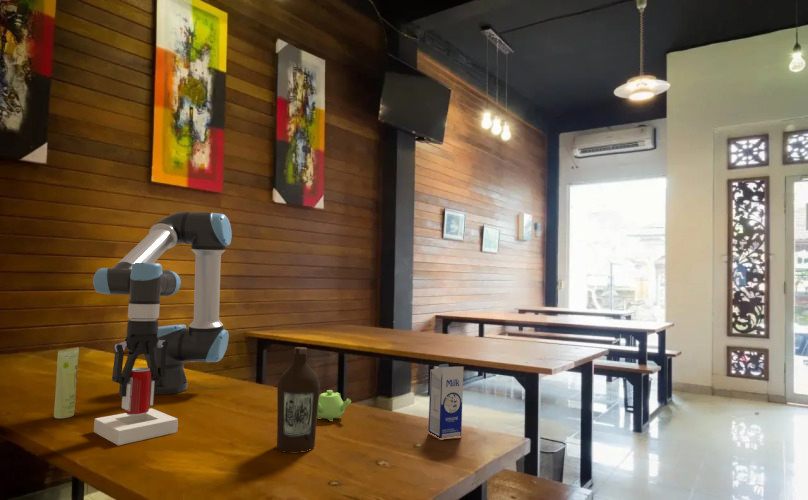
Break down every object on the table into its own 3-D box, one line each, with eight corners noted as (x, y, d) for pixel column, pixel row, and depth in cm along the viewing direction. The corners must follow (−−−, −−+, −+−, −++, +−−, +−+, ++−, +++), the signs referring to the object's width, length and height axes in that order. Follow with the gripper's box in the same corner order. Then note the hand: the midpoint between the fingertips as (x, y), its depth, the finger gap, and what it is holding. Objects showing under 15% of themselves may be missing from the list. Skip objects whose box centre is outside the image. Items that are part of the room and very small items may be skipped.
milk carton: (440, 441, 137) (442, 366, 138) (427, 433, 143) (430, 362, 144) (461, 438, 140) (464, 365, 141) (448, 431, 146) (451, 361, 147)
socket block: (151, 420, 145) (151, 408, 145) (177, 432, 136) (178, 419, 136) (93, 431, 133) (94, 418, 134) (118, 445, 124) (119, 431, 124)
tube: (74, 418, 145) (79, 349, 146) (52, 420, 142) (58, 350, 143) (74, 413, 149) (79, 347, 150) (53, 415, 147) (58, 347, 148)
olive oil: (274, 441, 132) (279, 344, 133) (315, 439, 134) (320, 345, 135) (273, 455, 121) (279, 351, 123) (318, 453, 124) (323, 351, 125)
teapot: (342, 412, 162) (343, 385, 162) (351, 422, 151) (352, 394, 151) (307, 414, 158) (308, 387, 158) (313, 425, 147) (315, 395, 148)
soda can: (153, 412, 136) (156, 367, 137) (136, 417, 131) (139, 370, 132) (137, 409, 138) (140, 365, 139) (120, 414, 133) (123, 368, 134)
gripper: (170, 317, 146) (164, 398, 144) (100, 319, 131) (93, 410, 130) (183, 319, 141) (178, 403, 140) (112, 322, 127) (105, 415, 125)
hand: (137, 406), depth 135 cm, fingers closed on soda can, 5 cm apart
